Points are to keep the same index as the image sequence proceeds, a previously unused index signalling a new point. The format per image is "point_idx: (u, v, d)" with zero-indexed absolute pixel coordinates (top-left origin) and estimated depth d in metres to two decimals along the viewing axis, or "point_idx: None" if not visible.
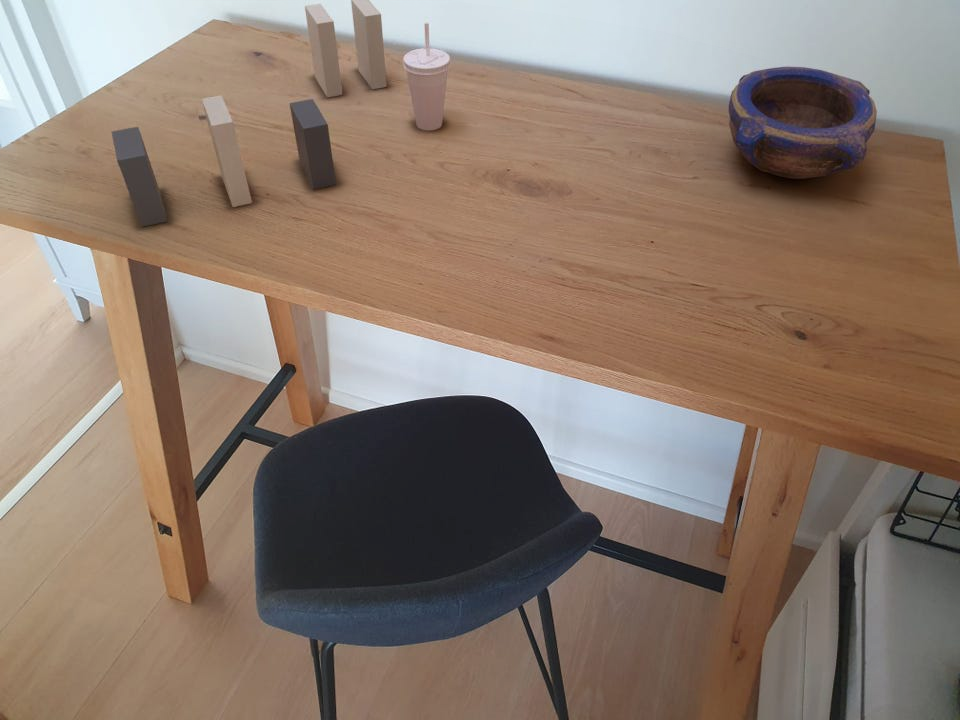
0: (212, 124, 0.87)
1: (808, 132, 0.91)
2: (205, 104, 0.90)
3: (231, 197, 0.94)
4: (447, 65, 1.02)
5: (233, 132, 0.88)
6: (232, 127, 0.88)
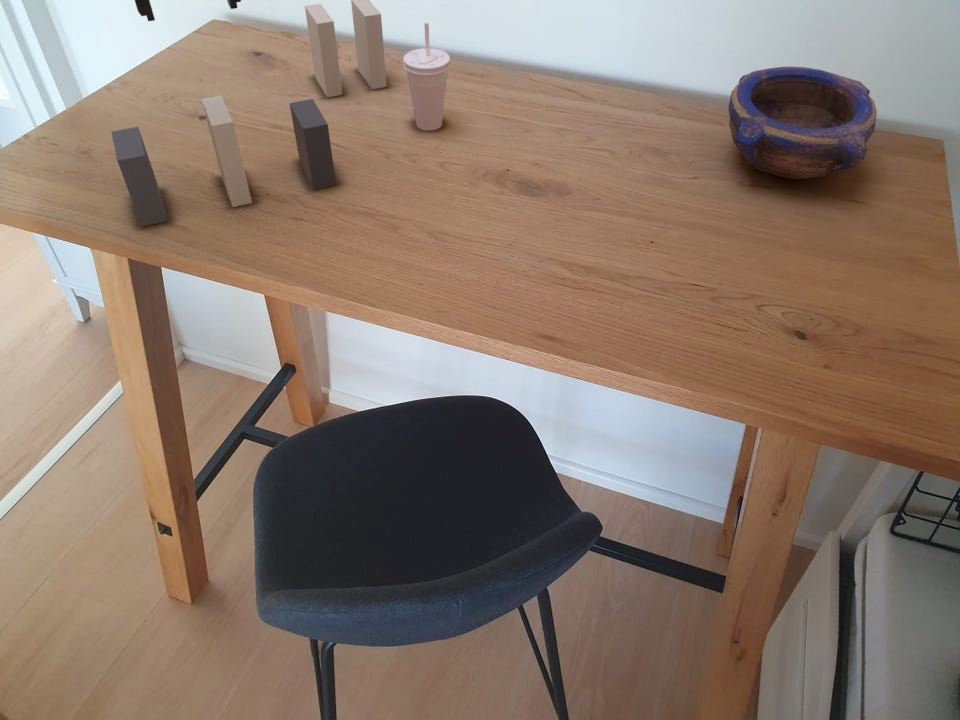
0: (212, 124, 0.87)
1: (808, 132, 0.91)
2: (205, 104, 0.90)
3: (231, 197, 0.94)
4: (447, 65, 1.02)
5: (233, 132, 0.88)
6: (232, 127, 0.88)
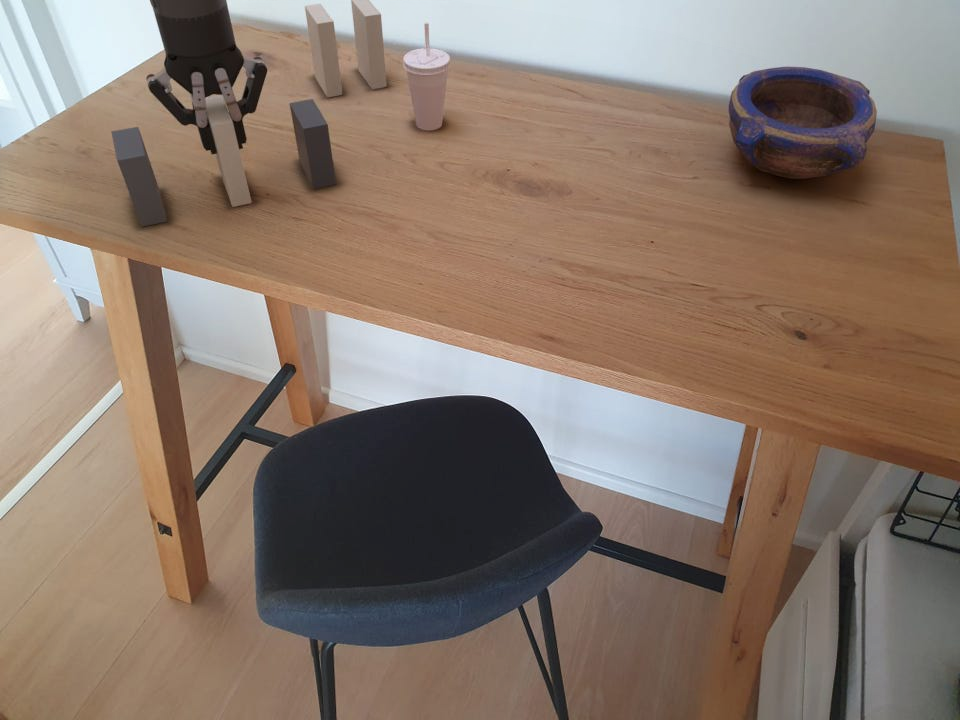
0: (212, 124, 0.87)
1: (808, 132, 0.91)
2: None
3: (231, 197, 0.94)
4: (447, 65, 1.02)
5: (233, 132, 0.88)
6: (232, 127, 0.88)
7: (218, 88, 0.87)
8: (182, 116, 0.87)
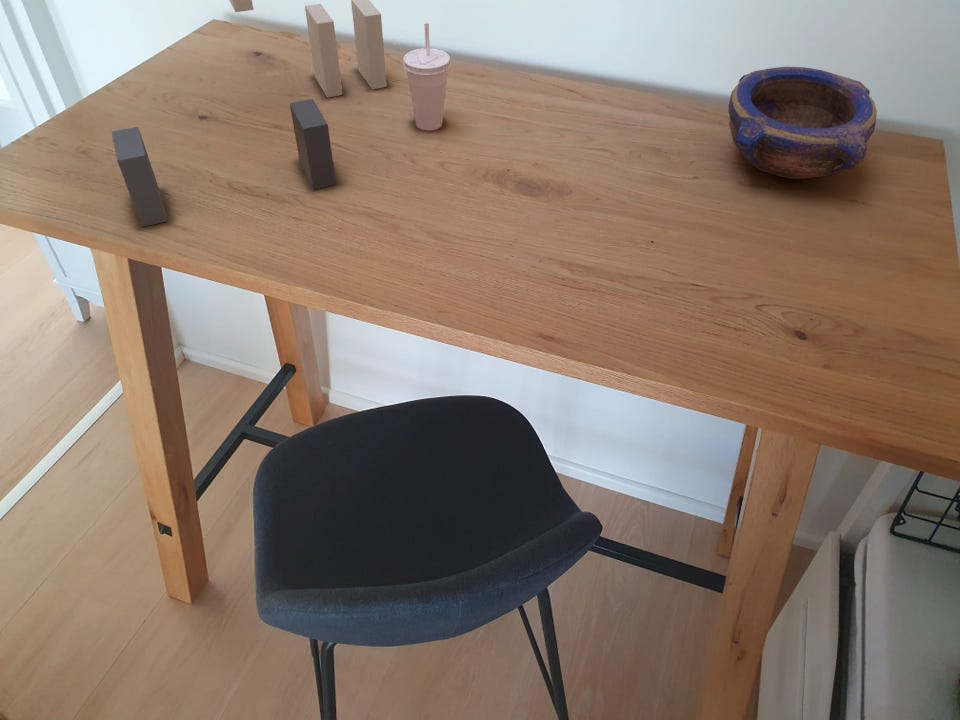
0: None
1: (808, 132, 0.91)
2: None
3: (234, 1, 1.00)
4: (447, 65, 1.02)
5: None
6: None
7: None
8: None
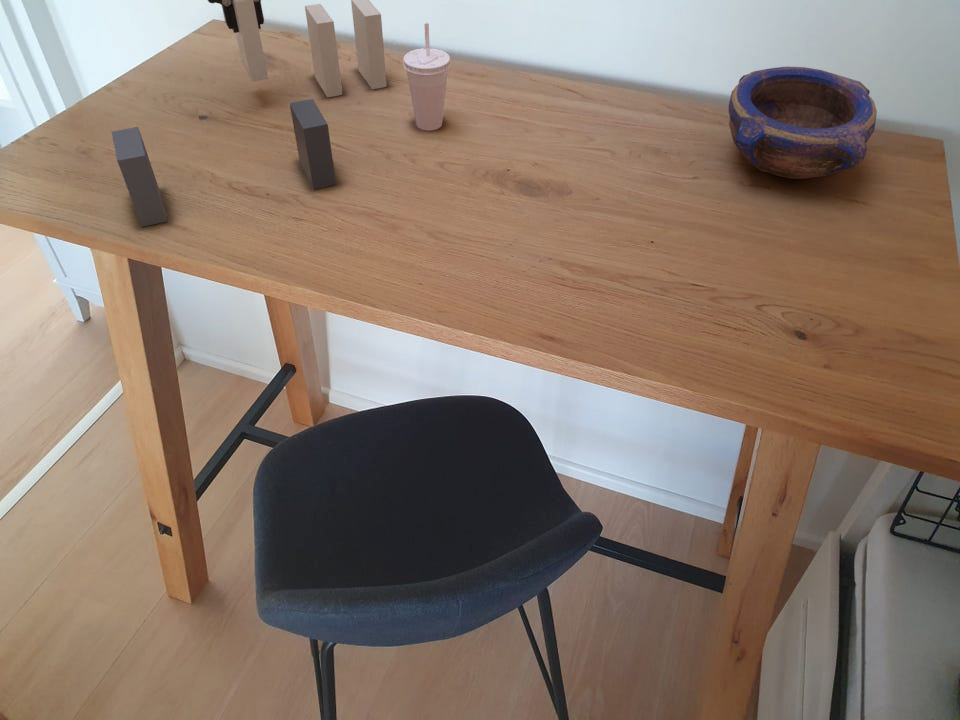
0: (235, 1, 1.01)
1: (808, 132, 0.91)
2: None
3: (250, 72, 1.08)
4: (447, 65, 1.02)
5: (253, 10, 1.03)
6: (252, 4, 1.02)
7: None
8: None
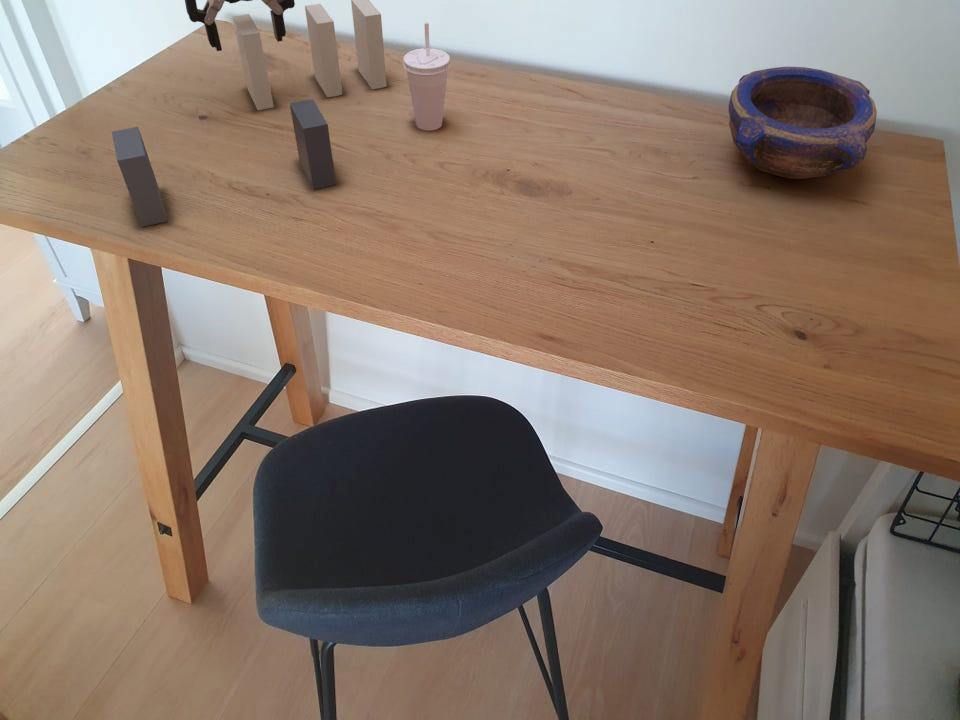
0: (242, 34, 1.04)
1: (808, 132, 0.91)
2: (235, 20, 1.08)
3: (256, 101, 1.11)
4: (447, 65, 1.02)
5: (259, 42, 1.06)
6: (259, 37, 1.05)
7: None
8: (194, 13, 1.02)
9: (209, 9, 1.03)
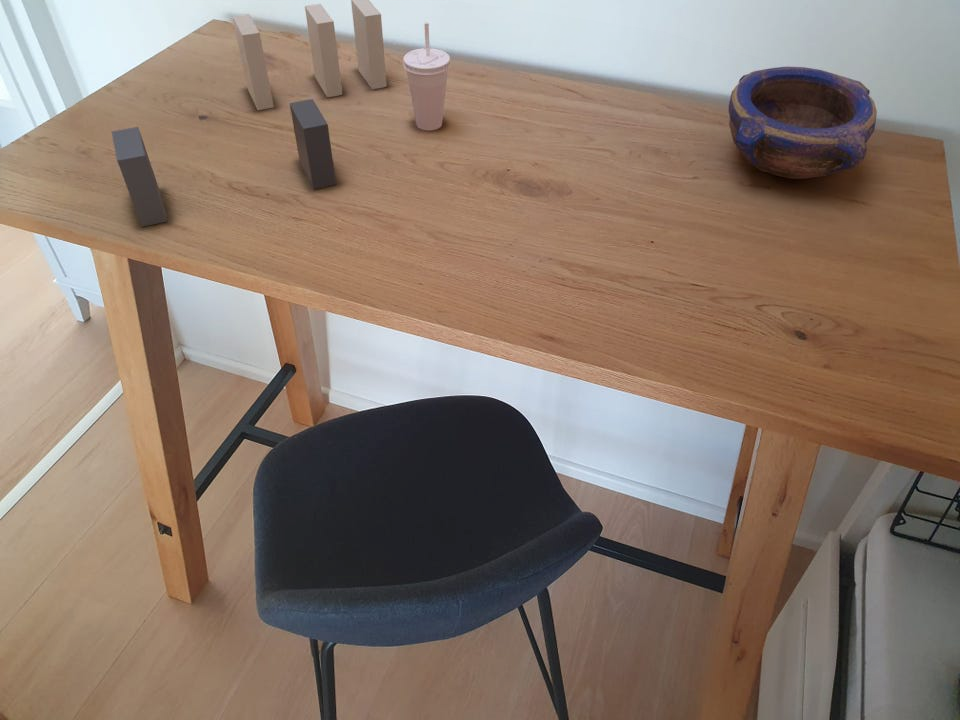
0: (242, 34, 1.04)
1: (808, 132, 0.91)
2: (236, 20, 1.08)
3: (256, 101, 1.11)
4: (447, 65, 1.02)
5: (259, 42, 1.06)
6: (259, 37, 1.05)
7: None
8: None
9: None
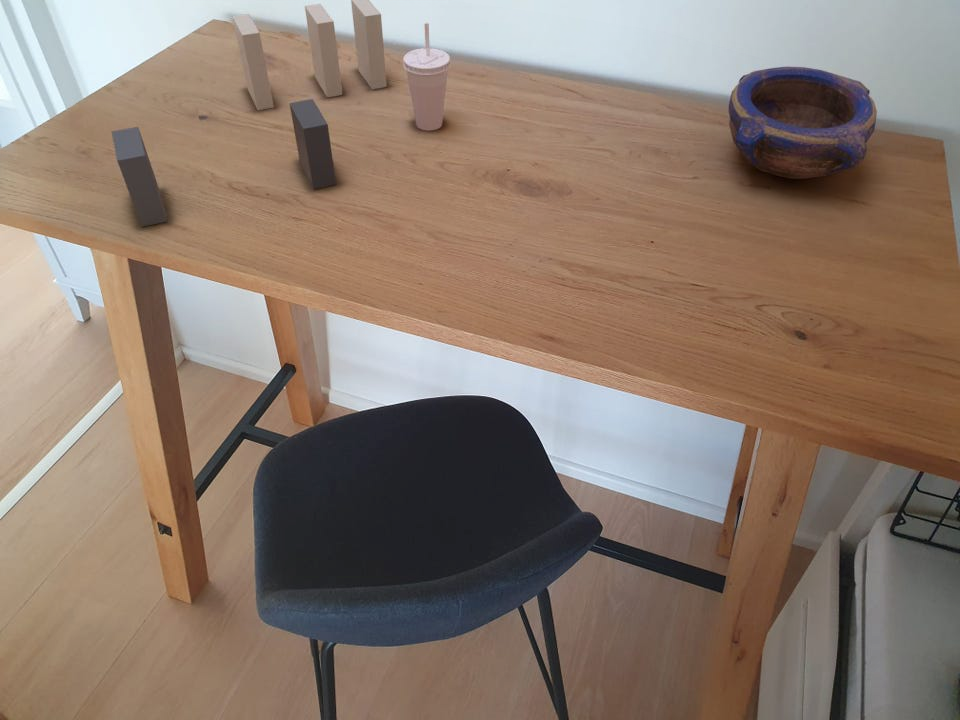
0: (242, 34, 1.04)
1: (808, 132, 0.91)
2: (235, 20, 1.08)
3: (256, 101, 1.11)
4: (447, 65, 1.02)
5: (259, 42, 1.06)
6: (259, 37, 1.05)
7: None
8: None
9: None
